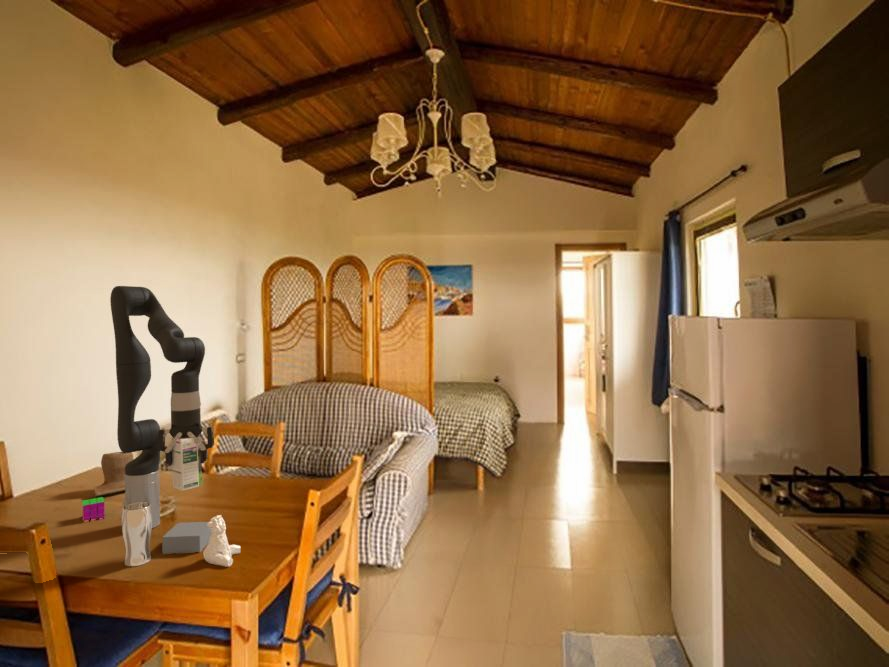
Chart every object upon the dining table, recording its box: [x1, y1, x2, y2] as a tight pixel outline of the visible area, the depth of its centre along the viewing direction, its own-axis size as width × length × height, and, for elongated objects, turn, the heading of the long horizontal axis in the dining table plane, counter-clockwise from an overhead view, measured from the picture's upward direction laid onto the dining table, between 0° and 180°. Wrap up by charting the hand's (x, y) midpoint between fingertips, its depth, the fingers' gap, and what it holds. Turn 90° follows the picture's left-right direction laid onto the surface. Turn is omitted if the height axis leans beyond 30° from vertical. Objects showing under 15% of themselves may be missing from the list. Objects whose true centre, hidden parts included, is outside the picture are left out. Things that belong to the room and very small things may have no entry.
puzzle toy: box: [81, 496, 106, 522], centre depth 167 cm, size 6×6×6 cm
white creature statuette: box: [202, 514, 241, 568], centre depth 137 cm, size 10×9×12 cm
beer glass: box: [121, 502, 153, 567], centre depth 136 cm, size 7×7×15 cm
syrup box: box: [170, 435, 203, 492], centre depth 146 cm, size 6×6×14 cm
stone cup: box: [93, 451, 134, 498], centre depth 193 cm, size 15×12×15 cm
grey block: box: [161, 521, 212, 555], centre depth 146 cm, size 10×10×5 cm
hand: (186, 463), depth 146 cm, fingers closed on syrup box, 8 cm apart
